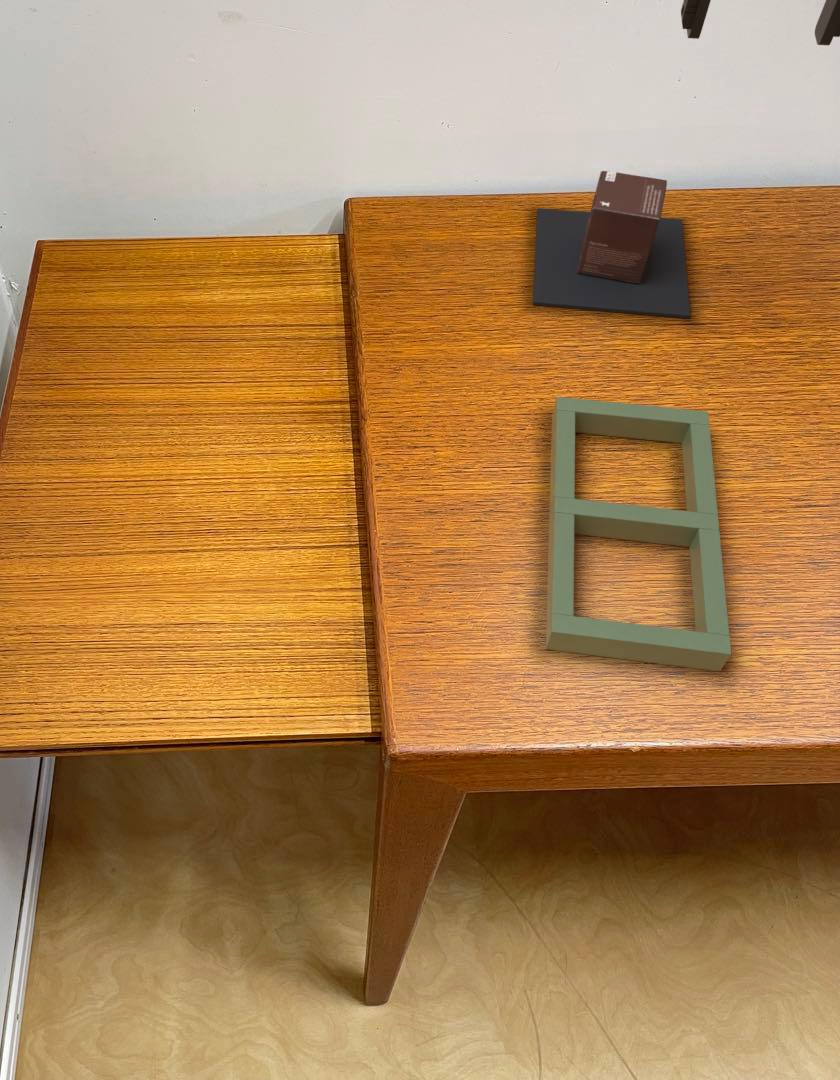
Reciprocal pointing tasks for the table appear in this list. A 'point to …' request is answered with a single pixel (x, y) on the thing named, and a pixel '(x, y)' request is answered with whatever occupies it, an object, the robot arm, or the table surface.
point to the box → (621, 226)
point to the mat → (569, 289)
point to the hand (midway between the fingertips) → (755, 36)
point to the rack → (637, 536)
